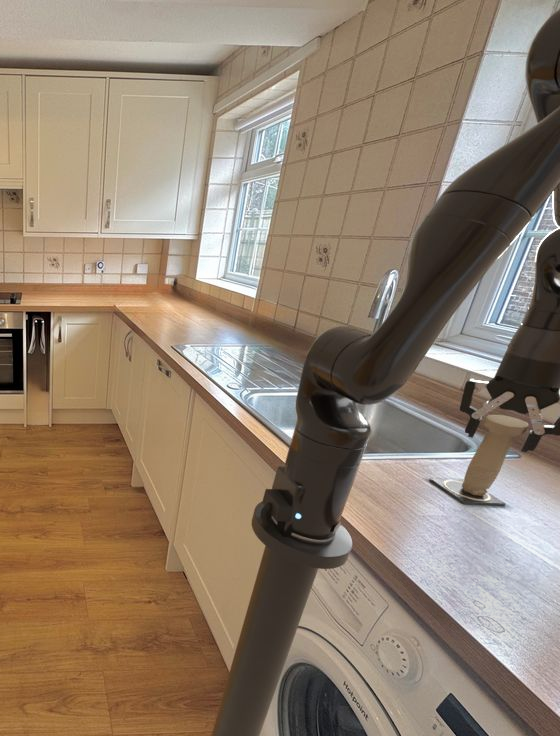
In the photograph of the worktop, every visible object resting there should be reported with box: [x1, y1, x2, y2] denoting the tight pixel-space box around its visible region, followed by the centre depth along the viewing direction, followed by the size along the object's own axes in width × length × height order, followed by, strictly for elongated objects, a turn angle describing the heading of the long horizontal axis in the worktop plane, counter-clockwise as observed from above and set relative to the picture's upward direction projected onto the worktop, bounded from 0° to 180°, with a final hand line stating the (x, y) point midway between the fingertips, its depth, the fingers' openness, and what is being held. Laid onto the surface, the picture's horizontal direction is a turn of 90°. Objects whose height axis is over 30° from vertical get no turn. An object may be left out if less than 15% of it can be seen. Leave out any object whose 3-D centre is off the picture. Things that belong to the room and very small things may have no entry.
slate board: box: [429, 478, 506, 507], centre depth 78 cm, size 8×8×1 cm
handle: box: [462, 414, 529, 496], centre depth 75 cm, size 5×6×15 cm
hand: (496, 443), depth 74 cm, fingers open, 6 cm apart
